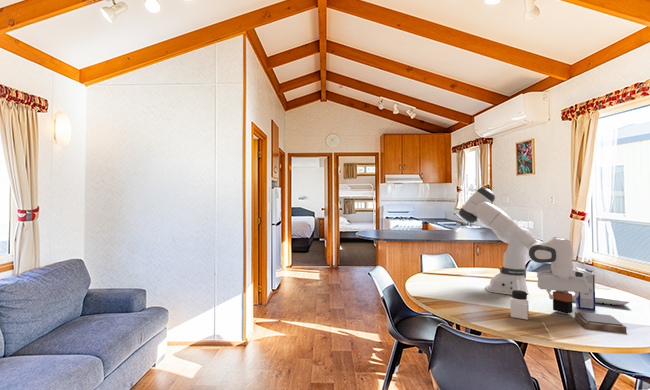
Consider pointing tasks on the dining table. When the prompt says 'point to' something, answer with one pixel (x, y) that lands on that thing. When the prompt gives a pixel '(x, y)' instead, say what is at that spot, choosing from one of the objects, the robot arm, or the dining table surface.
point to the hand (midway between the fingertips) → (562, 299)
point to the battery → (562, 301)
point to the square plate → (608, 296)
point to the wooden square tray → (600, 322)
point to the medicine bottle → (519, 304)
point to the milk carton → (586, 299)
